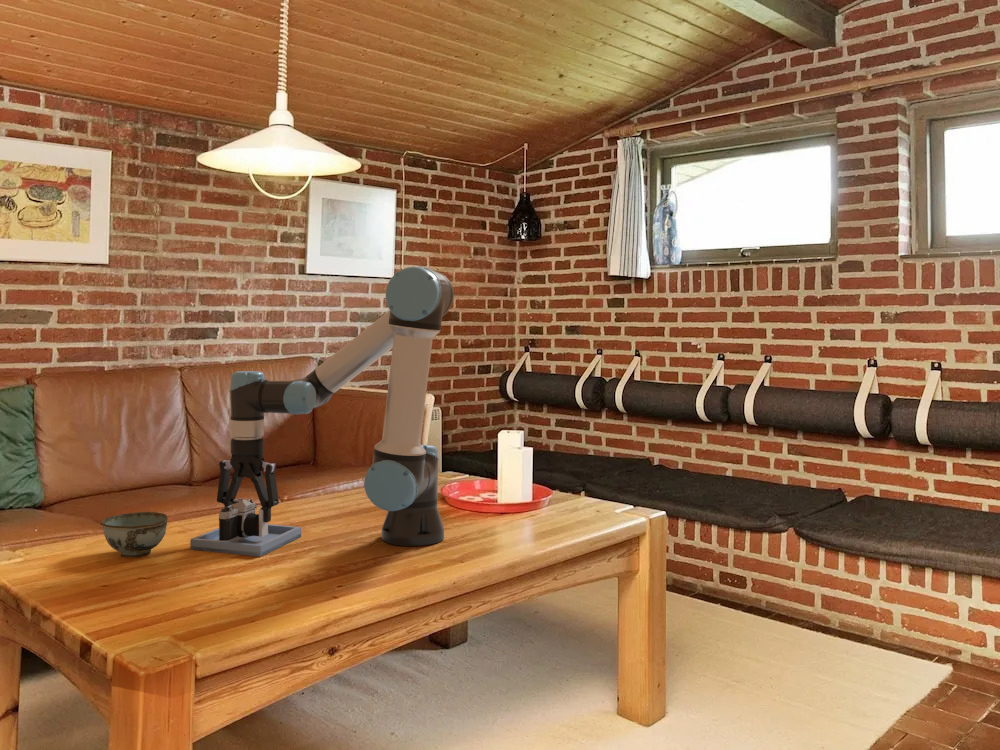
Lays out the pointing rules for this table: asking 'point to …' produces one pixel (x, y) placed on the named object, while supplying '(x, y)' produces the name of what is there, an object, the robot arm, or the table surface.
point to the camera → (238, 520)
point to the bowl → (135, 532)
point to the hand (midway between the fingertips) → (247, 534)
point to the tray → (247, 541)
